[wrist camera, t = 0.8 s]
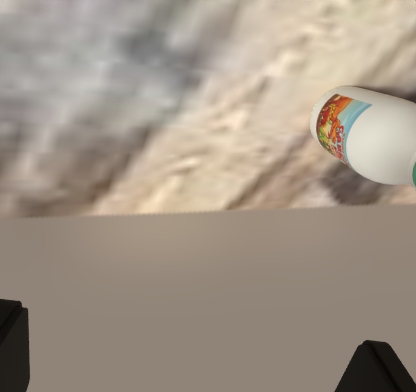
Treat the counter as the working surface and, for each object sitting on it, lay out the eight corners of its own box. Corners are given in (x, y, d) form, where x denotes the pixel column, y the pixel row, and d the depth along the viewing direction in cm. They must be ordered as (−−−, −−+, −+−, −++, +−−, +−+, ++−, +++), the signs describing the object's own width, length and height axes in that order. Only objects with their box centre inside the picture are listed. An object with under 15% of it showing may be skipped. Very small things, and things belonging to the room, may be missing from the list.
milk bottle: (346, 70, 39) (485, 91, 20) (383, 117, 41) (537, 172, 23) (295, 119, 41) (380, 177, 22) (333, 160, 43) (438, 244, 25)
